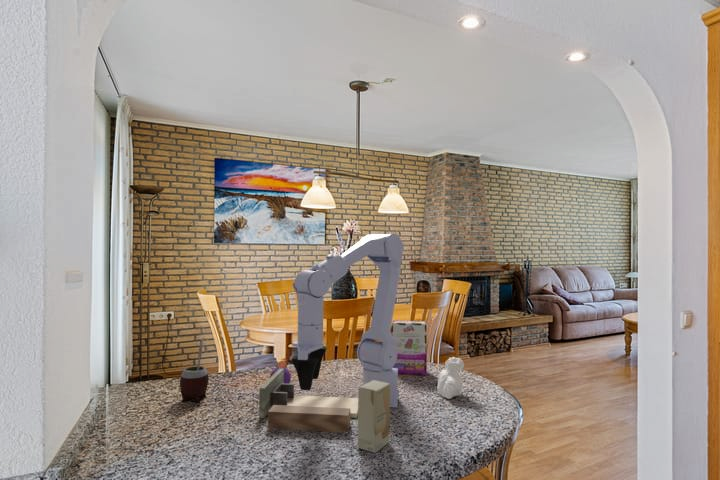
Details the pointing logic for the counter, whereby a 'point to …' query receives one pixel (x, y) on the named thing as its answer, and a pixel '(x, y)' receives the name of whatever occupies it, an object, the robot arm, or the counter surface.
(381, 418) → the skincare box
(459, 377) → the bust
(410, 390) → the counter surface
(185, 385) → the mate gourd
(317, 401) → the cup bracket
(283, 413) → the rail
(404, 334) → the candy bar box
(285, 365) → the kendama
